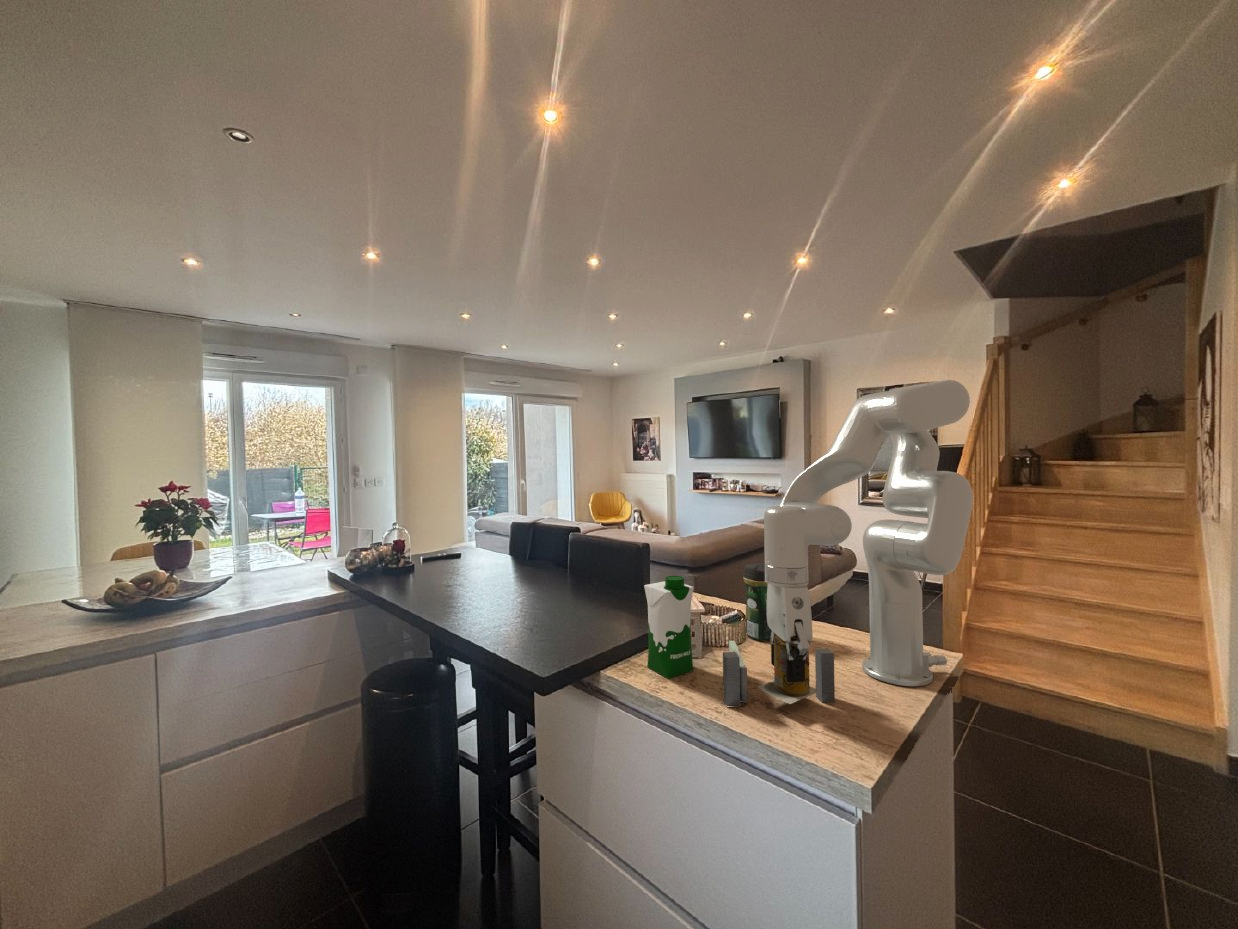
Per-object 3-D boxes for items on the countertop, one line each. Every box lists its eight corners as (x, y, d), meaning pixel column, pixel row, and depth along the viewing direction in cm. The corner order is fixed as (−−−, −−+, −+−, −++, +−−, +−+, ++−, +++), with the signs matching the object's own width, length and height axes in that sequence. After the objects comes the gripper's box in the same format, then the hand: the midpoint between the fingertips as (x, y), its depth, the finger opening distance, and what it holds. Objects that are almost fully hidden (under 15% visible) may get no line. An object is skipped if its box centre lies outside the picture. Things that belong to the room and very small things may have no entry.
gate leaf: (739, 702, 88) (738, 669, 88) (727, 669, 102) (727, 640, 102) (749, 702, 88) (748, 669, 88) (736, 669, 102) (736, 640, 102)
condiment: (820, 691, 87) (819, 625, 87) (790, 705, 82) (789, 635, 82) (786, 677, 93) (785, 615, 93) (756, 689, 88) (755, 623, 88)
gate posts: (828, 695, 91) (827, 648, 91) (834, 702, 88) (833, 653, 88) (723, 700, 89) (722, 652, 89) (727, 707, 87) (726, 657, 87)
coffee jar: (769, 628, 128) (768, 558, 128) (790, 638, 121) (789, 563, 120) (739, 633, 124) (737, 561, 124) (759, 644, 117) (757, 567, 117)
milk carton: (666, 682, 98) (665, 583, 98) (641, 666, 105) (639, 575, 105) (699, 671, 102) (697, 577, 102) (672, 657, 110) (670, 569, 110)
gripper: (829, 585, 80) (831, 694, 79) (787, 564, 97) (788, 653, 97) (785, 586, 79) (786, 696, 79) (750, 565, 96) (751, 655, 96)
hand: (787, 672), depth 88 cm, fingers closed on condiment, 6 cm apart
